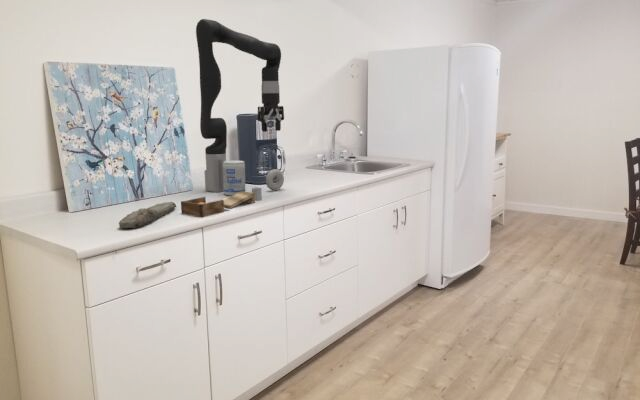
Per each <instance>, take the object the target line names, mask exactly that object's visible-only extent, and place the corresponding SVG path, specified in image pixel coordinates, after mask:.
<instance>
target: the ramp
mask: <svg viewBox="0 0 640 400" xmlns="http://www.w3.org/2000/svg"><path fill="white" fill-rule="evenodd" d="M223 200H224V209H232V208H234V207H236V206H238V205H240V204H241V203H248V204H255V203H256V200H255V195H254V193H252V191H250V192H249V191H245V192H244V191H241V192H239V193H237V194H235V195H233V196H229V197H227V198H226V199H223Z"/></svg>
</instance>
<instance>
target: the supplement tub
mask: <svg viewBox="0 0 640 400" xmlns="http://www.w3.org/2000/svg"><path fill="white" fill-rule="evenodd" d="M245 163H246V162H245V161H244V160H235V159H233V160H226V161H224V162H223V181H224V191H223V194H224V195H225V196H229V197H231V196H233V195H235V194H237V193H239V192H241V191H244V192H246V164H245Z"/></svg>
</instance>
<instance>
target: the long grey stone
mask: <svg viewBox="0 0 640 400" xmlns="http://www.w3.org/2000/svg"><path fill="white" fill-rule="evenodd" d="M176 208H177V205H176V203H175V202H173V201H168V202H166V201H165V202H162V203H156V204H155V205H153V206H152V205H151V206H150V207H147V208H145V207H144V208H138V210H136V211H135V210H134V211H132V212H131V213H129V214H126V216H125V217H123V218H121V220H119V222H118V226H119V227H120V229H136V228H140V227H144V225H145V226H146V224H147V225H149V224H153V223H154V221H157V220H158V219H160V217H163V216H164V217H165V215H167V214H169V213H172V212H173V211H174V210H176ZM148 223H149V224H148Z"/></svg>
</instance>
